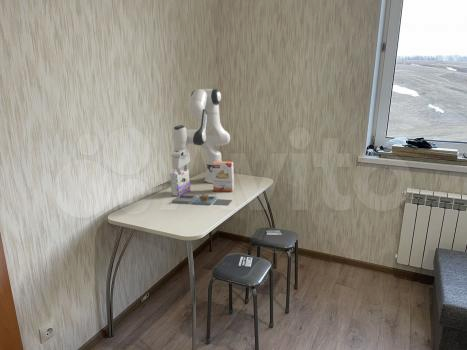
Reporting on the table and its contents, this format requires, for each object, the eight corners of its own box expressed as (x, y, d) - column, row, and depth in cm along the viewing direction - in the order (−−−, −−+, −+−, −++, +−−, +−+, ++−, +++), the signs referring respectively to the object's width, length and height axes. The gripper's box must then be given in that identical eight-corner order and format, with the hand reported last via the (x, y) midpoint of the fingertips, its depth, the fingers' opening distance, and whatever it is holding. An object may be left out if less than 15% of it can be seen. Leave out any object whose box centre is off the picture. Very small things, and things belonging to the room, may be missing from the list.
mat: (217, 200, 227) (217, 199, 227) (232, 201, 225) (232, 199, 225) (212, 205, 218) (212, 204, 218) (228, 206, 215) (227, 205, 215)
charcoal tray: (180, 197, 236) (179, 194, 235) (196, 198, 232) (196, 195, 232) (172, 203, 224) (172, 200, 224) (189, 204, 221) (189, 201, 221)
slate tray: (199, 198, 232) (199, 195, 231) (216, 199, 229) (216, 196, 228) (192, 204, 221) (192, 201, 220) (210, 205, 217) (210, 202, 217)
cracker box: (213, 191, 246) (211, 162, 241) (215, 189, 252) (214, 160, 247) (232, 192, 243) (231, 163, 238) (234, 189, 249) (233, 161, 243)
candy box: (184, 190, 252) (182, 168, 248) (190, 191, 249) (189, 169, 245) (171, 195, 241) (169, 172, 236) (178, 196, 238) (176, 173, 233)
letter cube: (203, 200, 227) (202, 194, 226) (208, 200, 226) (208, 194, 225) (200, 202, 223) (200, 196, 222) (206, 202, 222) (206, 196, 221)
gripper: (183, 148, 231) (184, 168, 234) (169, 154, 212) (171, 176, 215) (191, 148, 229) (193, 169, 232) (179, 154, 210) (180, 177, 213)
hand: (182, 172), depth 224 cm, fingers open, 8 cm apart
